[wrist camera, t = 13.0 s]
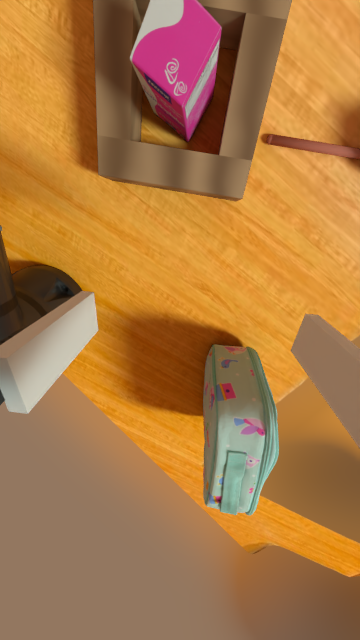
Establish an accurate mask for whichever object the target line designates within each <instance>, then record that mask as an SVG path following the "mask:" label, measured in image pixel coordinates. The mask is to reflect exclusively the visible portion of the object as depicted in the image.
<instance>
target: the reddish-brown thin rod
mask: <svg viewBox="0 0 360 640" xmlns="http://www.w3.org/2000/svg"><path fill="white" fill-rule="evenodd" d="M267 143H268V144H270V145H276V146H282V147H288V148H294V149H300V150H306V151H312V152H318V153H325V154H331V155H337V156H343V157H349V158H355V159H360V149H358V148H352V147H346V146H340V145H334V144H328V143H322V142H316V141H310V140H304V139H298V138H291V137H285V136H279V135H273V134H271V135H269V136H268V137H267Z"/></svg>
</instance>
